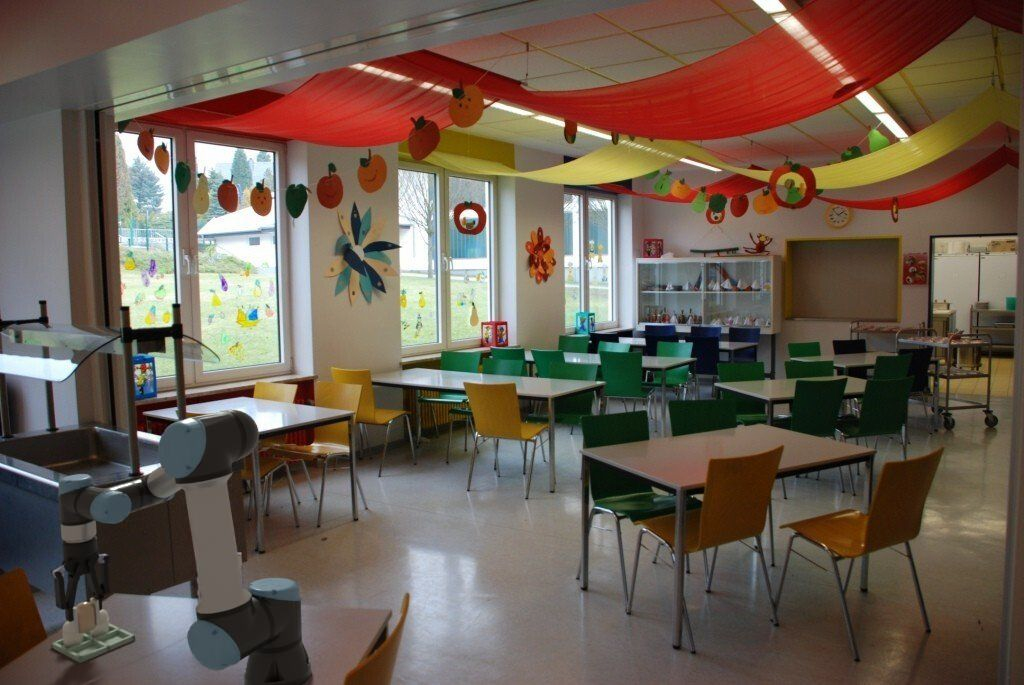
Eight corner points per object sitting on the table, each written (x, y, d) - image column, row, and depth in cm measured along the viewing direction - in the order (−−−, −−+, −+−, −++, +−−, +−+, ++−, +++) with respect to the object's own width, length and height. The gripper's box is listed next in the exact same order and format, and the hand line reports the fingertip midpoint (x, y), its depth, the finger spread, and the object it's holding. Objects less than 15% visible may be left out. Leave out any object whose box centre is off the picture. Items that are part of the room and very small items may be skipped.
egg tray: (135, 641, 201) (134, 635, 201) (80, 665, 190) (79, 658, 190) (106, 627, 209) (105, 621, 209) (51, 649, 198) (51, 642, 197)
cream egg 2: (113, 633, 205) (111, 608, 204) (95, 640, 201) (93, 615, 200) (103, 629, 207) (102, 604, 206) (86, 636, 203) (84, 610, 203)
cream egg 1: (87, 644, 199) (86, 618, 198) (69, 651, 195) (67, 625, 195) (78, 639, 202) (76, 613, 201) (60, 646, 198) (58, 620, 197)
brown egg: (98, 627, 195) (97, 601, 194) (80, 635, 191) (78, 608, 190) (89, 623, 198) (87, 597, 197) (70, 630, 194) (69, 603, 193)
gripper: (106, 524, 201) (111, 611, 204) (33, 545, 187) (40, 638, 189) (122, 530, 197) (127, 618, 199) (49, 552, 182) (56, 646, 185)
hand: (85, 627), depth 194 cm, fingers closed on brown egg, 4 cm apart
